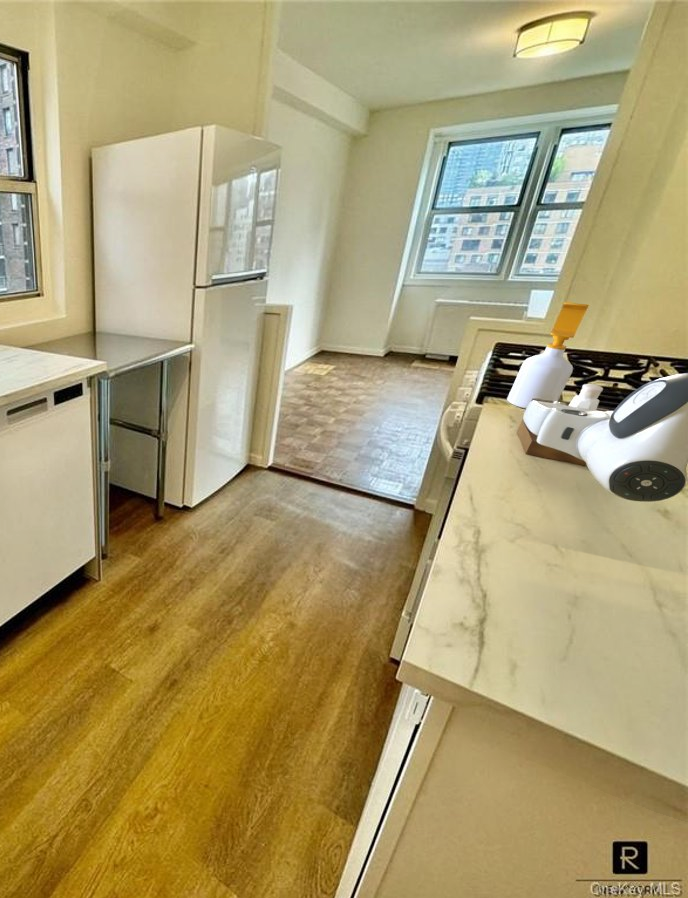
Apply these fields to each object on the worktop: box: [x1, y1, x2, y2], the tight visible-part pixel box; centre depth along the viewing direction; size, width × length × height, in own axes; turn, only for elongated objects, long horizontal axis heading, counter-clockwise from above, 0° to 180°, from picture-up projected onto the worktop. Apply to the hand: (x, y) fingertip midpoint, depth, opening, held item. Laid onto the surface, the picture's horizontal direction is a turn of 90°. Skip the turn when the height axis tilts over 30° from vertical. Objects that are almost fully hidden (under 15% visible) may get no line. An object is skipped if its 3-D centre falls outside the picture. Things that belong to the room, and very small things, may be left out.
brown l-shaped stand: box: [516, 398, 611, 467], centre depth 96 cm, size 12×12×8 cm
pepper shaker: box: [569, 383, 604, 410], centre depth 93 cm, size 5×5×11 cm
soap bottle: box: [506, 302, 589, 410], centre depth 113 cm, size 9×9×25 cm
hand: (590, 410), depth 89 cm, fingers open, 8 cm apart
